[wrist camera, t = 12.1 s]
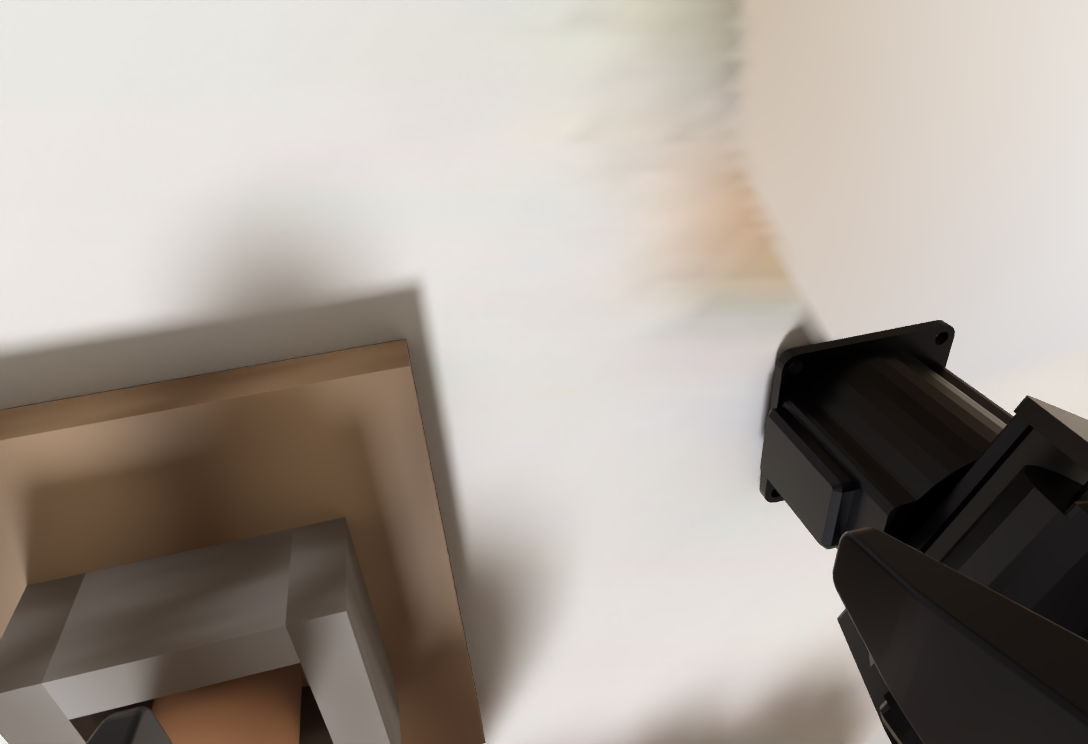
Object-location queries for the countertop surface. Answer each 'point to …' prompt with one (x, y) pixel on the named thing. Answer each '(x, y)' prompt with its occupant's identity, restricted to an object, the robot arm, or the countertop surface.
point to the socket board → (232, 552)
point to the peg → (236, 710)
